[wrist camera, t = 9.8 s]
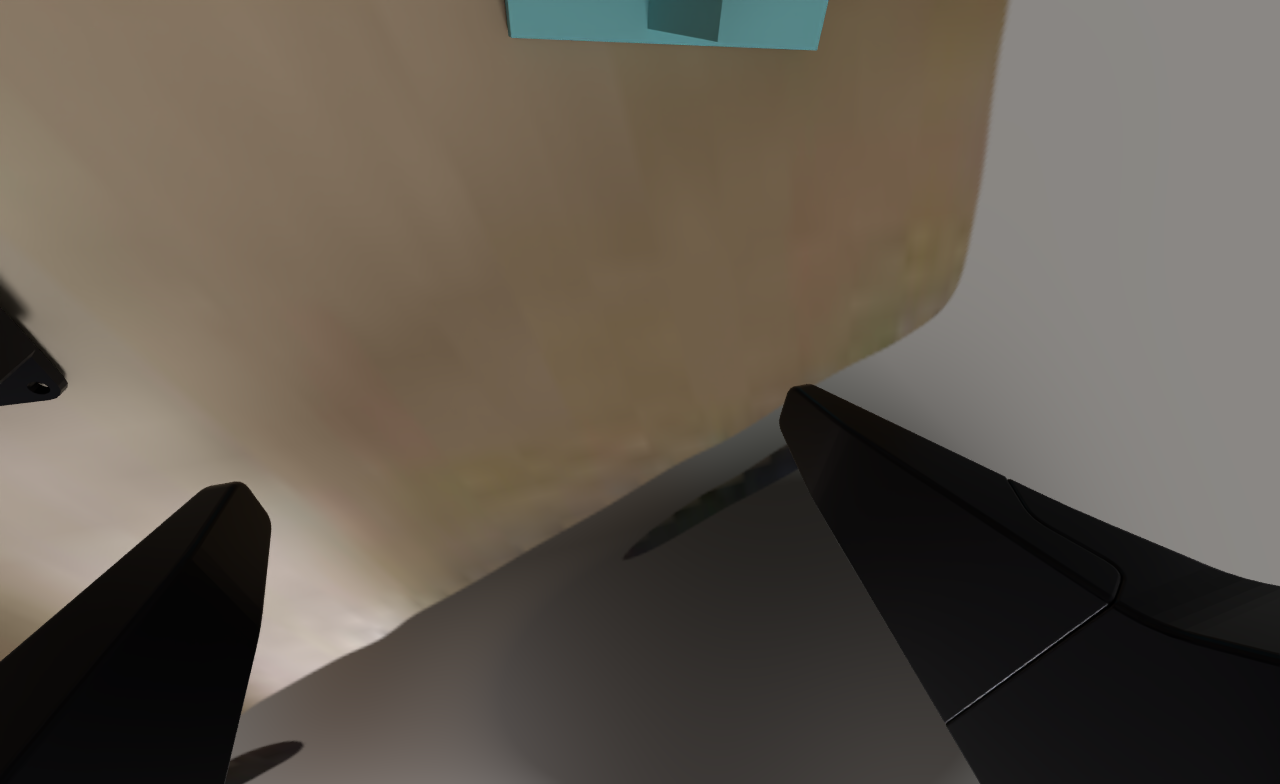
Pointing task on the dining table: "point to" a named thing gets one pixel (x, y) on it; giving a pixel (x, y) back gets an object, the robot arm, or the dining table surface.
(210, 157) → the dining table surface
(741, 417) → the dining table surface
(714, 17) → the stub
